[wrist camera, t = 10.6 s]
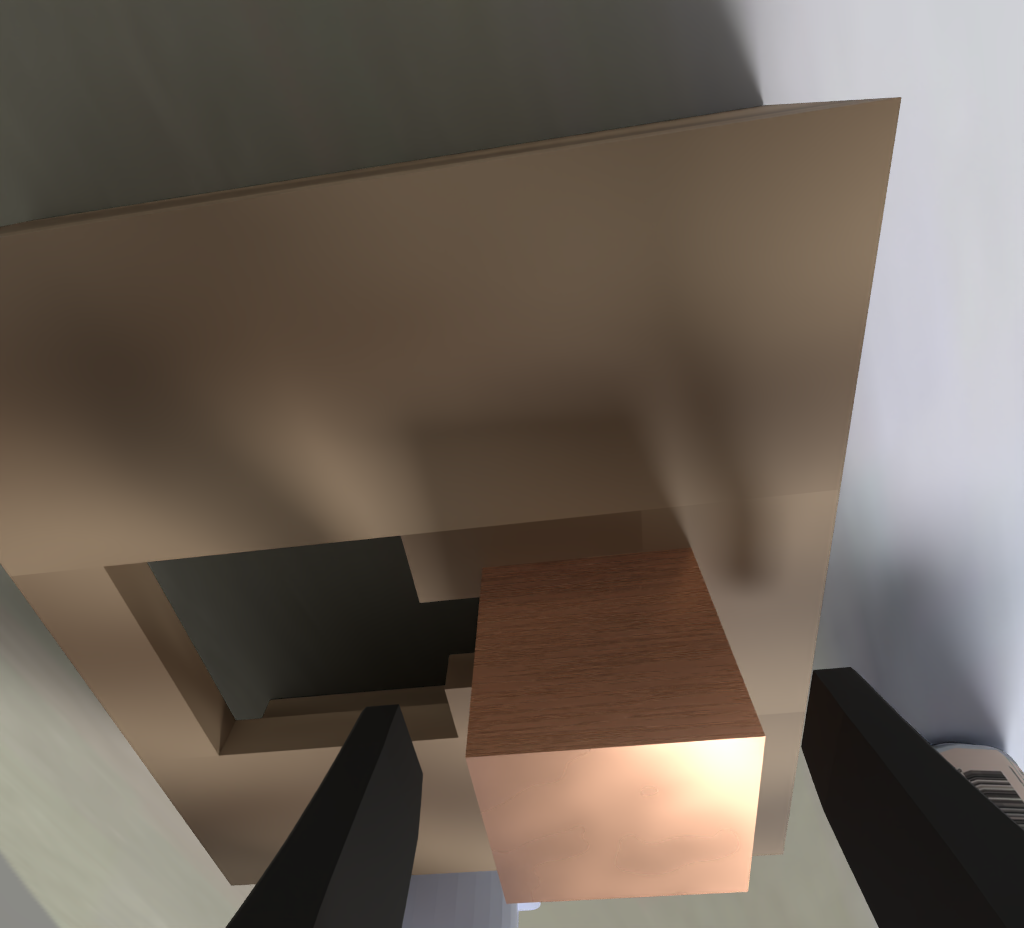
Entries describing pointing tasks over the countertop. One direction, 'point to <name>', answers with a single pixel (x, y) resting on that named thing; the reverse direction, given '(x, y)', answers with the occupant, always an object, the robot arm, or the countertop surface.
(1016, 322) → the countertop surface
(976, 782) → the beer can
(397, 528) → the keyhole board
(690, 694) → the brown piece
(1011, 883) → the robot arm
